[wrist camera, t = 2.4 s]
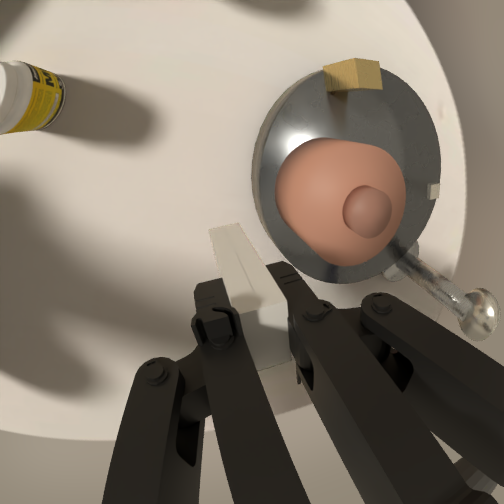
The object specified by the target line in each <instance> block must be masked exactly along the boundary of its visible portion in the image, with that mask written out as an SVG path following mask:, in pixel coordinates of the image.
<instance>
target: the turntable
mask: <svg viewBox="0 0 504 504" xmlns="http://www.w3.org/2000/svg"><path fill="white" fill-rule="evenodd" d="M321 137H327V138H334V139H340V140H346V141H352V142H357V143H363V144H368V145H373V146H376V147H379V148H381V149H383V150H384V151H386V152H387V153H388V154H390V155H391V156H392V157H393V158H394V160H395V161H396V162H397V164H398V165H399V167H400V170H401V172H402V175H403V178H404V182H405V189H406V201H405V208H404V213H403V217H402V220H401V222H400V225H399V227H398V229H397V231H396V233H395V235H394V236H393V238H392V239H391V241H390V242H389V243H388V244H387V246H386V247H385V248H384V249H383V250H382V251H381V252H379V253H378V254H377V255H376V256H374V257H373V258H371V259H369V260H368V261H366V262H363V263H361V264H358V265H354V266H338V265H334V264H331V263H329V262H327V261H325V260H324V259H323V258H321V257H320V256H319V255H318V254H317V253H316V252H315V251H314V250H313V249H312V248H311V247H310V246H308V245H307V244H306V243H305V242H304V241H303V240H302V239H301V238H300V237H299V236H298V235H297V234H296V233H295V232H294V231H292V230H291V229H290V228H289V227H288V226H287V225H286V224H285V222H284V221H283V220H282V218H281V216H280V214H279V212H278V209H277V206H276V202H275V182H276V177H277V174H278V171H279V169H280V167H281V165H282V163H283V162H284V160H285V158H286V157H287V156H288V155H289V154H290V152H291V151H292V150H294V149H295V148H296V147H297V146H299V145H300V144H302V143H304V142H306V141H308V140H311V139H314V138H321ZM440 174H441V156H440V146H439V141H438V136H437V133H436V129H435V126H434V123H433V121H432V118H431V116H430V114H429V112H428V110H427V108H426V106H425V105H424V103H423V102H422V100H421V99H420V97H419V96H418V95H417V93H416V92H415V91H414V90H413V89H412V88H411V87H410V86H409V85H408V84H407V83H406V82H404V81H403V80H402V79H400V78H399V77H398V76H396V75H394V74H393V73H391V72H389V71H387V70H384V69H382V68H380V65H379V61H373V60H366V59H358V58H353V59H349V60H345V61H341V62H337V63H333V64H330V65H326V66H323V70H320V71H317V72H314V73H311V74H309V75H307V76H306V77H304V78H302V79H300V80H298V81H297V82H296V83H294V84H293V85H292V86H291V87H289V88H288V89H287V90H286V91H285V92H284V93H283V94H282V95H281V96H280V97H279V99H278V100H277V101H276V102H275V104H274V105H273V107H272V108H271V109H270V111H269V112H268V114H267V116H266V118H265V120H264V122H263V124H262V126H261V128H260V131H259V134H258V137H257V140H256V143H255V148H254V153H253V159H252V173H251V180H252V192H253V198H254V202H255V207H256V210H257V213H258V216H259V219H260V221H261V224H262V225H263V227H264V229H265V231H266V233H267V235H268V236H269V237H270V239H271V240H272V242H273V243H274V244H275V246H276V247H277V248H278V249H279V250H280V252H281V253H282V254H283V255H284V256H285V258H286V259H287V260H288V261H289V262H290V263H291V264H292V265H293V266H294V267H296V268H297V269H298V270H300V271H301V272H303V273H304V274H306V275H308V276H310V277H312V278H314V279H317V280H320V281H323V282H328V283H335V284H347V283H354V282H359V281H362V280H366V279H369V278H371V277H373V276H375V275H378V274H380V273H381V272H383V271H385V270H386V269H388V268H389V267H391V266H392V265H393V264H395V263H396V262H397V261H398V260H399V259H400V258H402V257H403V256H404V255H405V254H406V253H407V252H408V250H409V249H410V248H411V247H412V246H413V245H414V243H415V242H416V240H417V239H418V238H419V236H420V235H421V233H422V231H423V230H424V228H425V226H426V224H427V222H428V220H429V218H430V216H431V213H432V210H433V208H434V205H435V201H436V198H439V190H440Z"/></svg>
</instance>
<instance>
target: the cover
mask: <svg viewBox="0 0 504 504" xmlns="http://www.w3.org/2000/svg"><path fill="white" fill-rule="evenodd" d="M405 201H406V189H405V182H404V178H403V175H402V172H401V170H400V167H399V165H398V164H397V162H396V161H395V160H394V158H393V157H392V156H391V155H390V154H388V153H387V152H386V151H384V150H383V149H381V148H379V147H376V146H373V145H368V144H363V143H357V142H352V141H346V140H340V139H334V138H327V137H321V138H314V139H311V140H308V141H306V142H304V143H302V144H300V145H299V146H297V147H296V148H295V149H294V150H292V151H291V152H290V154H289V155H288V156H287V157H286V158H285V160H284V162H283V163H282V165H281V167H280V169H279V171H278V174H277V177H276V182H275V202H276V206H277V209H278V212H279V214H280V216H281V218H282V220H283V221H284V222H285V224H286V225H287V226H288V227H289V228H290V229H291V230H292V231H294V232H295V233H296V234H297V235H298V236H299V237H300V238H301V239H302V240H303V241H304V242H305V243H306V244H307V245H308V246H310V247H311V248H312V249H313V250H314V251H315V252H316V253H317V254H318V255H319V256H320V257H321V258H323V259H324V260H325V261H327V262H329V263H331V264H334V265H338V266H354V265H358V264H361V263H363V262H366V261H368V260H369V259H371V258H373V257H374V256H376V255H377V254H378V253H379V252H381V251H382V250H383V249H384V248H385V247H386V246H387V244H388V243H389V242H390V241H391V239H392V238H393V236H394V235H395V233H396V231H397V229H398V227H399V225H400V222H401V220H402V217H403V213H404V208H405Z"/></svg>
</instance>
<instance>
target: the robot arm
mask: <svg viewBox="0 0 504 504" xmlns="http://www.w3.org/2000/svg"><path fill="white" fill-rule="evenodd" d="M209 234H210V239H211V243H212V248H213V252H214V256H215V260H216V265H217V269H218V273H219V277H220V278H219V279H215V280H211V281H207V282H203V283H199V284H197V286H196V288H195V290H194V299H195V306H196V314H195V316H194V317H193V318H192V322H191V327H192V330H193V333H194V335H195V338H196V340H197V343H198V346H197V347H196V349H195V350H194V351H193V352H192V353H191V354H189V355H188V356H186V357H184V358H182V359H180V360H178V361H176V362H175V361H173V360H171V359H170V358H165V357H158V358H153V359H151V360H149V361H147V362H145V363H144V364H143V365H142V366H140V367H139V369H138V371H137V373H136V375H135V378H134V381H133V384H132V387H131V390H130V394H129V397H128V400H127V404H126V407H125V410H124V414H123V417H122V421H121V424H120V428H119V432H118V435H117V439H116V443H115V447H114V451H113V455H112V459H111V463H110V467H109V472H108V476H107V481H106V485H105V490H104V495H103V500H102V504H199V489H200V474H201V461H202V450H203V438H204V427H205V418H206V417H208V416H210V415H212V418H213V423H214V427H215V432H216V436H217V441H218V445H219V449H220V453H221V457H222V461H223V465H224V468H225V473H226V476H227V480H228V484H229V487H230V491H231V494H232V498H233V501H234V504H311V503H310V501H309V499H308V496H307V494H306V492H305V490H304V488H303V485H302V483H301V480H300V478H299V476H298V473H297V471H296V469H295V466H294V464H293V461H292V459H291V457H290V454H289V452H288V449H287V447H286V444H285V442H284V440H283V437H282V435H281V432H280V430H279V427H278V425H277V422H276V420H275V417H274V414H273V412H272V409H271V407H270V404H269V402H268V399H267V396H266V394H265V391H264V388H263V386H262V383H261V380H260V378H259V375H258V372H257V371H260V370H263V369H266V368H270V367H273V366H276V365H279V364H282V363H285V362H289V361H292V358H291V352H292V354H293V356H294V358H295V360H296V372H297V382H298V384H301V380H302V382H303V384H304V386H305V388H306V390H307V392H308V394H309V396H310V398H311V400H312V402H313V404H314V406H315V408H316V410H317V412H318V414H319V416H320V418H321V420H322V422H323V424H324V426H325V427H326V430H327V432H328V433H329V435H330V437H331V439H332V441H333V443H334V445H335V447H336V449H337V451H338V453H339V455H340V457H341V459H342V461H343V463H344V465H345V467H346V468H347V470H348V472H349V474H350V476H351V478H352V480H353V482H354V484H355V486H356V487H357V489H358V491H359V493H360V495H361V497H362V499H363V501H364V502H365V504H498V503H497V501H496V500H495V499H494V498H493V497H492V496H491V495H490V494H488V493H486V492H484V491H478V490H473V489H472V488H470V487H469V486H468V485H467V484H466V482H465V481H464V479H463V478H462V476H461V475H460V473H459V472H458V470H457V469H456V467H455V466H454V464H453V463H452V461H451V460H450V459H449V457H448V456H447V454H446V453H445V451H444V450H443V448H442V447H441V446H440V444H439V443H438V441H437V440H436V439H435V437H434V436H433V434H432V433H431V432H433V433H434V434H435V435H436V436H438V437H439V438H440V439H441V440H443V441H444V442H445V443H446V444H447V445H449V446H450V447H451V448H452V449H453V450H455V451H456V452H457V453H458V454H460V455H461V456H462V457H463V458H465V459H466V460H467V461H468V462H470V463H471V464H472V465H473V466H475V467H476V468H477V469H479V470H480V471H481V472H482V473H484V474H485V475H486V476H487V477H489V478H490V479H491V480H493V481H494V482H496V483H497V484H499V485H500V486H503V487H504V366H502V365H501V364H499V363H498V362H496V361H495V360H493V359H492V358H490V357H489V356H487V355H486V354H484V353H483V352H481V351H480V350H478V349H477V348H475V347H474V346H472V345H471V344H469V343H468V342H466V341H465V340H463V339H461V338H460V337H458V336H457V335H455V334H454V333H452V332H450V331H449V330H448V329H446V328H445V327H443V326H441V325H440V324H438V323H437V322H435V321H433V320H432V319H430V318H429V317H427V316H425V315H424V314H422V313H421V312H419V311H417V310H416V309H414V308H413V307H411V306H409V305H408V304H406V303H404V302H403V301H401V300H399V299H398V298H396V297H395V296H392V295H390V294H388V293H372V294H370V295H368V296H366V297H365V298H364V299H363V300H362V304H361V307H358V308H349V309H336V308H335V306H333V305H332V304H331V303H330V302H327V301H325V300H319V299H318V298H317V297H316V295H315V294H314V293H313V291H312V290H311V289H310V288H309V286H308V285H307V284H306V282H305V281H304V280H302V277H301V276H300V275H299V274H298V272H297V271H296V270H295V268H294V267H293V266H292V265H290V264H288V263H286V262H284V261H281V262H277V263H273V264H269V265H265V264H264V263H263V261H262V259H261V258H260V256H259V255H258V253H257V251H256V250H255V248H254V247H253V245H252V243H251V242H250V240H249V239H248V237H247V235H246V234H245V232H244V231H243V229H242V227H241V226H240V224H239V223H234V224H230V225H226V226H222V227H218V228H213V229H209ZM392 347H393V348H394V349H393V348H392ZM395 349H396V350H395ZM430 431H431V432H430Z"/></svg>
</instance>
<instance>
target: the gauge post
mask: <svg viewBox="0 0 504 504" xmlns="http://www.w3.org/2000/svg"><path fill="white" fill-rule="evenodd" d="M418 254H419V245H418V242H417V240H416V242H415V243H414V245H413V246H412V247H411V248H410V249H409V250H408V252H407V253H406V254H405V255H404V256H403V257H402V258H400V259H399V260H398V261H397V262H396V263H395V264H393V265H392V266H391V267H389V268H388V269H386V270H385V271H383V272H381V273H382V275H383V276H384V277H385V278H387V279H388V280H389V281H393V282H394V281H398V280H401V279H402V278H404V277H405V276H406V275H407V276H408V277H409V278H411V279H412V280H413V281H415V282H416V283H417V284H418V285H420V286H421V287H422V288H423V289H425V290H426V291H427V292H428V293H430V294H431V295H432V296H433V297H434V298H436V299H437V300H438V301H439V302H440V303H442V304H443V305H444V306H445V307H446V308H448V309H449V310H450V311H451V312H452V313H453V314H454V315H456V316H457V318H458V322H459V325H460V328H461V330H462V331H463V333H464V334H465V335H466V336H467V337H468V338H470V339H471V340H474V341H483V340H485V339H486V338H487V337H489V335H491V334H492V333H493V332H494V331H495V330H496V328H497V326H498V324H499V321H500V308H499V304H498V302H497V300H496V298H495V297H494V295H493V294H492V293H491V292H489V291H488V290H486V289H483V288H476V289H473V290H472V291H470V292H469V293H468V294H466V293H465V292H464V291H462V290H461V289H460V288H459V287H457V286H456V285H455V284H453V283H452V282H451V281H449V280H448V279H447V278H445V277H444V276H442V275H441V274H440V273H438V272H437V271H436V270H434V269H433V268H431V267H430V266H429V265H427V264H426V263H424V262H423V261H421V260H420V259H418Z"/></svg>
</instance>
